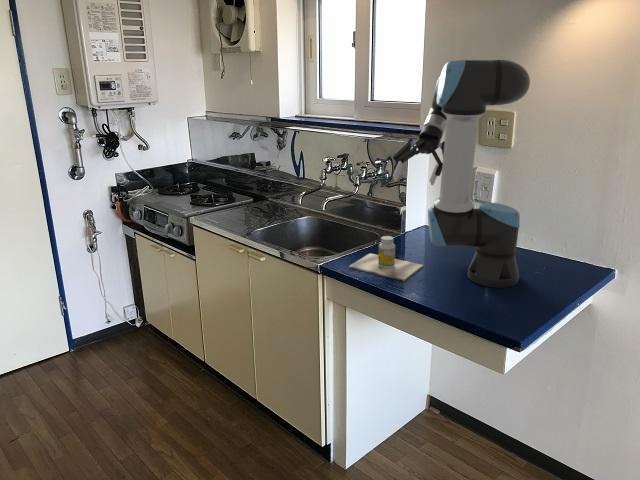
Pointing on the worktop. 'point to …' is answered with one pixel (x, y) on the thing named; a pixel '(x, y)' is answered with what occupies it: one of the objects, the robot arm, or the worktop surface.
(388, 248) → the supplement bottle
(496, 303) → the worktop surface
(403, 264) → the birch board
